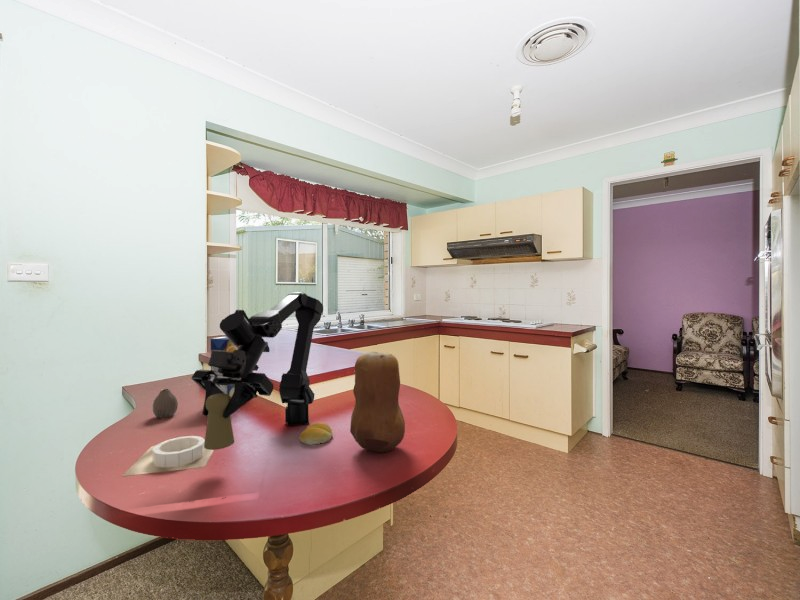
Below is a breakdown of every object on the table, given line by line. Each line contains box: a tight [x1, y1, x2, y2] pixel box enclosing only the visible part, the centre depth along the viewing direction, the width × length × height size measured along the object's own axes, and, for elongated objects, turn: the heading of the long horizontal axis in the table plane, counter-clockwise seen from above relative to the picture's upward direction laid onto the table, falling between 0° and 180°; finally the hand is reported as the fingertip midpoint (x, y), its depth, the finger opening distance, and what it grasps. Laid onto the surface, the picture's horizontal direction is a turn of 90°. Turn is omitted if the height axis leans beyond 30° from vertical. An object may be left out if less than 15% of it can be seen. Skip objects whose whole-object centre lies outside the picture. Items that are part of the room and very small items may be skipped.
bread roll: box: [299, 422, 333, 446], centre depth 100 cm, size 8×9×4 cm
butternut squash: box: [349, 351, 406, 454], centre depth 93 cm, size 14×13×25 cm
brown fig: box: [152, 388, 179, 419], centre depth 119 cm, size 7×7×9 cm
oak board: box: [122, 445, 215, 477], centre depth 88 cm, size 16×16×1 cm
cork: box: [204, 393, 235, 451], centre depth 81 cm, size 6×6×11 cm
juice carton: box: [210, 335, 239, 397], centre depth 135 cm, size 12×8×24 cm, turn 161°
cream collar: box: [152, 435, 205, 468], centre depth 87 cm, size 10×10×3 cm
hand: (214, 416), depth 79 cm, fingers closed on cork, 5 cm apart
